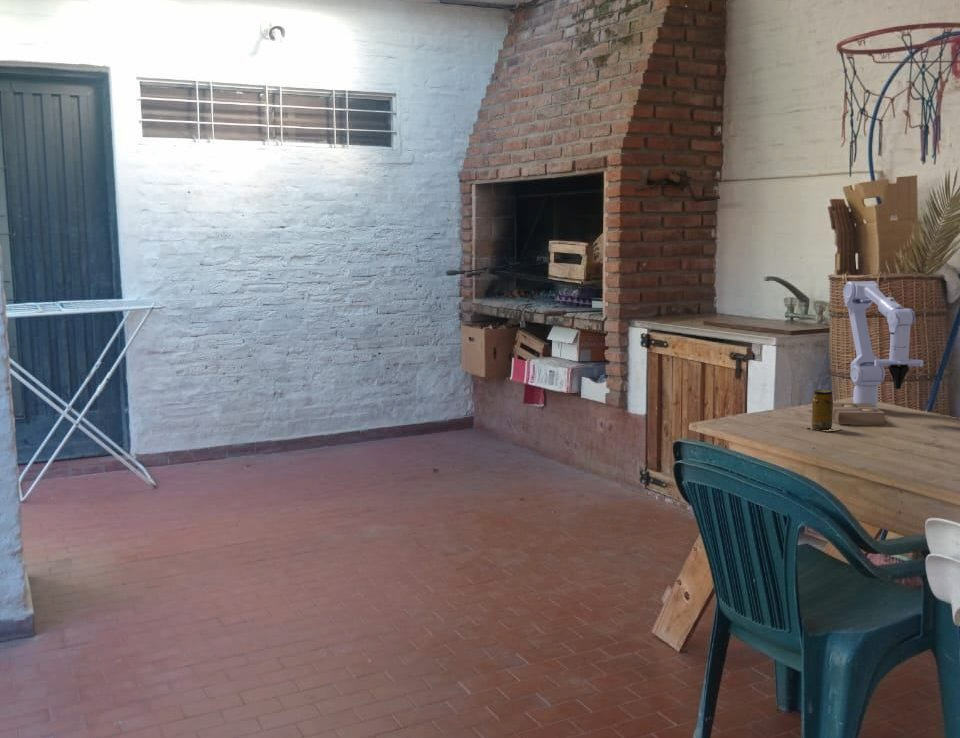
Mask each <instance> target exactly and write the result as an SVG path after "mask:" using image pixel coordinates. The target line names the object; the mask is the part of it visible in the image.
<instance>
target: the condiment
mask: <svg viewBox="0 0 960 738" xmlns="http://www.w3.org/2000/svg"><path fill="white" fill-rule="evenodd" d="M813 395H814V396H813V399H812V402H811V403H812V406H811V407H812V409H811V427H812V428H813V429H819V430H818V431H821V430H829V429H832V428H833V420H832V413H833V403H834V400H833V392H832V391H831V390H827V389H817V390H816V389H815V390H814V392H813ZM831 427H832V428H831ZM832 430H833V429H832ZM821 432H822V431H821ZM826 432H827V433H829V432H828V431H826ZM826 432H825V433H826Z"/></svg>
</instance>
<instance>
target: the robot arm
mask: <svg viewBox="0 0 960 738" xmlns="http://www.w3.org/2000/svg"><path fill="white" fill-rule="evenodd" d="M879 287H880V286H879V284H878V283H877V282H876V281H875V280H869V281H851V280H850V281H847V282H846V283H845V285H844V287H843V290H842V294H843V295H842V296H843V300H844V304H845V306H844V307H845V308H846V309H848V315H849V316H848V317H849V321H850V327H851V332H852V338H853V343H854V349H855V353H856V357H855V358H854V359H853V360H852V361H851V363H850V373H849V374H850V380H851V381H852V383H853V384H854V385H855V386H854V388H853V394H852V396H853V397H852V403H871V404H872V405H874V406H875V407H877V408H878V405H879V404H878V401H879V386H880V385H881V383H883V381H884V379H885V378H886V377H885V376H886V371H885V368H884V367H887V368H888V370H889V372H890V375H891V378H892V381H893V387H894V388H893V389H896V390H901V388H902V385H903V382H904V379H905V378H906V375H907V374H908V372H909V369H910V367H920V368H921V367H924V360H922V359H910V358H909V356H910V355H909V354H910V343H911V341H910V340H911V339H910V338H911V327H913V325H914V324H915V321H916V315H915V312H914V311H913V310H912V308H911V307H910V308H904V307H903V306H902V305H901V304H900V303H898V302H897V301H896V300H895V297H891V296H889V297H886V296H885V294H883V292H882V291H881V290H880V288H879ZM873 303H874V304H875V305H877V310H878V312H880V314H881V315H882V316H884V317H885V318H886V321H887V324H888V330H889V331H888V332H890V335H889V337H890V338H889V340H890V341H889V355H888V356H889V357H888V358H886V359H885V358H884V359H880V358H879V357H877V356H876V355H874V353H873V347H872V342H871V336H870V332H869V331H870V330H869V327H868V326H869V325H868V320H867V315H866V310H867V308H869V307H871V305H872V304H873Z"/></svg>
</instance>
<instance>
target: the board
mask: <svg viewBox="0 0 960 738" xmlns="http://www.w3.org/2000/svg"><path fill="white" fill-rule="evenodd" d="M844 405H854V406H855V407H844ZM885 413H886V412H884V411H883V410H882V409H880V408H878V406H877V407H875V406H874V405H872V404H871V403H853V402H851V403H850V402H849V403H848V402H846V403H845V402H833V413H832V419H833V420H835V421H836V422H837V423H838V424H851V425H850V426H885V415H886V414H885ZM833 420H832V421H833ZM836 422H835V423H836ZM837 423H836V424H837ZM838 424H837V425H838Z"/></svg>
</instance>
